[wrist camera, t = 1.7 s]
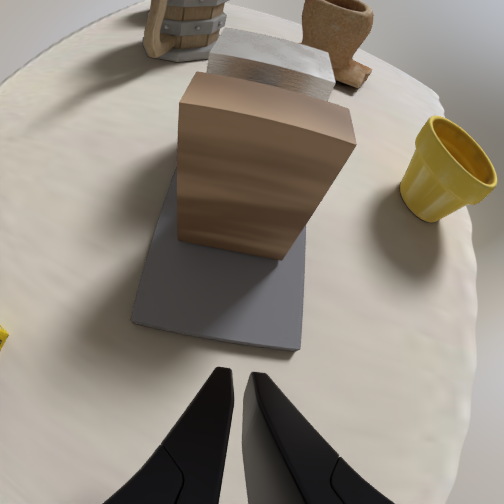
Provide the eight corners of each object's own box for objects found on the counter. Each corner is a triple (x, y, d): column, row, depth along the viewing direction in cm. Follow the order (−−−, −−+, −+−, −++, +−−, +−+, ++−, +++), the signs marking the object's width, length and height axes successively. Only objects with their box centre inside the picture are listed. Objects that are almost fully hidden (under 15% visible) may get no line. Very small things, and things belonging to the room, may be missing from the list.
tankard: (170, 29, 42) (178, -40, 29) (233, 42, 42) (250, -32, 29) (98, 75, 32) (93, -19, 19) (174, 91, 33) (184, -19, 20)
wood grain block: (282, 260, 23) (356, 144, 12) (177, 240, 22) (179, 102, 11) (288, 146, 29) (331, 43, 19) (211, 129, 28) (230, 18, 18)
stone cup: (273, 69, 40) (300, -15, 27) (290, 47, 46) (313, -20, 32) (365, 106, 40) (407, 30, 27) (366, 78, 46) (398, 16, 33)
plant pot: (387, 154, 35) (425, 101, 27) (445, 191, 35) (487, 147, 27) (383, 210, 30) (435, 150, 21) (450, 250, 30) (506, 205, 21)
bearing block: (291, 178, 28) (335, 82, 18) (196, 158, 27) (209, 52, 17) (292, 138, 31) (328, 52, 21) (209, 120, 29) (225, 27, 20)
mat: (295, 351, 21) (300, 349, 21) (133, 323, 20) (130, 319, 19) (302, 129, 33) (305, 123, 32) (202, 107, 32) (203, 100, 31)
